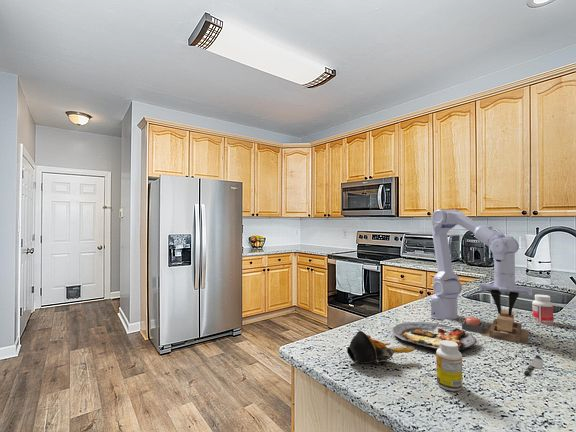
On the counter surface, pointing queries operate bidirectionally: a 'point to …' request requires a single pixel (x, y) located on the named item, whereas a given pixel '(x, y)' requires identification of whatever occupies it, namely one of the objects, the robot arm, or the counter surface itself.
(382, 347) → the fried shrimp in bowl
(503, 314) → the block
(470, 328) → the button housing
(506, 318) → the block
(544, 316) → the pill bottle
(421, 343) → the food plate
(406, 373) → the counter surface
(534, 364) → the kitchen knife
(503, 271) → the robot arm
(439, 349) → the supplement bottle
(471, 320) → the button
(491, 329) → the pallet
